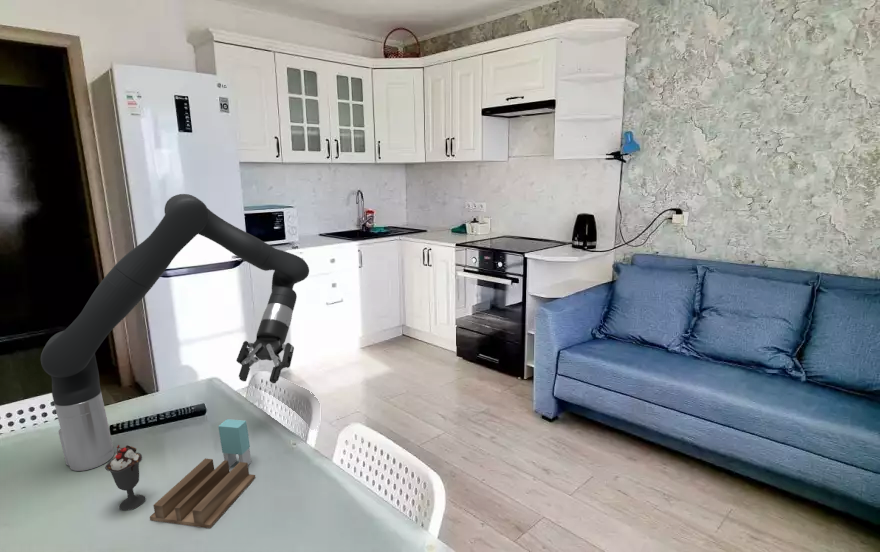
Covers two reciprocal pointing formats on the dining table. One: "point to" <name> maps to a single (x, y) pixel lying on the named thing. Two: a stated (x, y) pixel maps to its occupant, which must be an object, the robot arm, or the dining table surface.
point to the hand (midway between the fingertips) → (257, 381)
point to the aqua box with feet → (235, 441)
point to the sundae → (126, 475)
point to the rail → (203, 494)
